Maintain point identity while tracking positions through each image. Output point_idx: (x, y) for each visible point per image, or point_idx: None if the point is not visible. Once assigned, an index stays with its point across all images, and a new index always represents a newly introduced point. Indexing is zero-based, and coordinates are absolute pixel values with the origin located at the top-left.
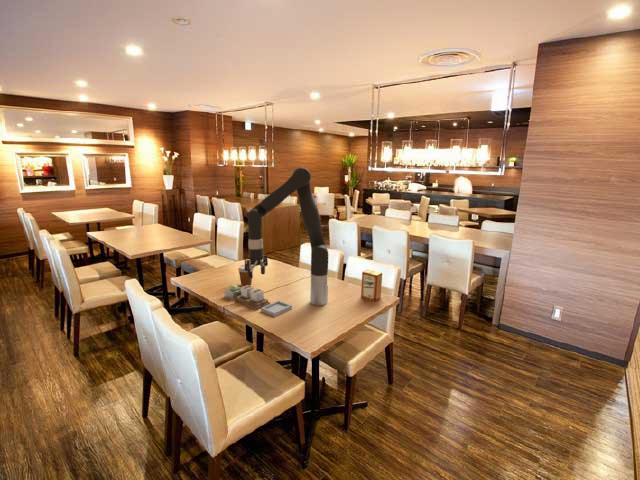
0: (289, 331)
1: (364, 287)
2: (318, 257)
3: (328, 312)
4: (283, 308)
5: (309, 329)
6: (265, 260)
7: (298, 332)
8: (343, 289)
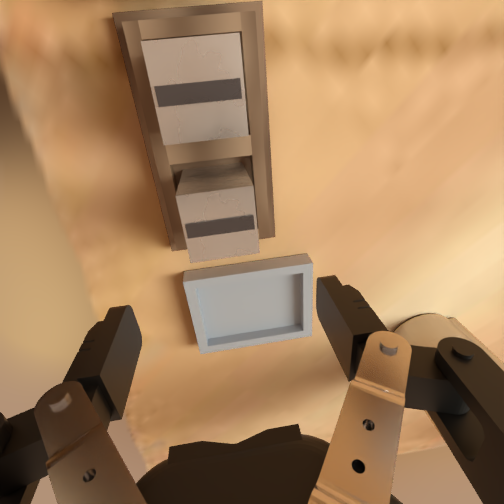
0: (177, 426)
1: None
2: None
3: None
4: (260, 340)
5: (233, 440)
6: (489, 498)
7: (195, 439)
8: None
